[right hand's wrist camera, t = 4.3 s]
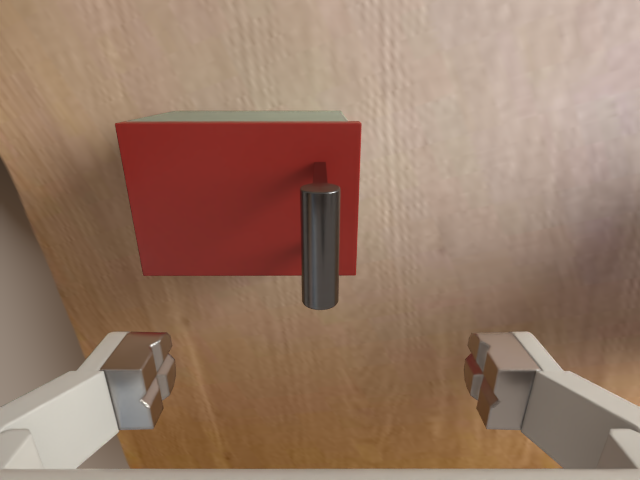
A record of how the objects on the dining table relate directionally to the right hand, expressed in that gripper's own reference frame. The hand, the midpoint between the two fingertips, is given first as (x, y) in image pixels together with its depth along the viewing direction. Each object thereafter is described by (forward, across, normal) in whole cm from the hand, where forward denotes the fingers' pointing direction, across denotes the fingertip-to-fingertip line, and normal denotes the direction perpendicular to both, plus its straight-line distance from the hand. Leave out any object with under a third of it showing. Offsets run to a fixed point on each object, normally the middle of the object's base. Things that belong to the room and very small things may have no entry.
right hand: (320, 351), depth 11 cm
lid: (+15, +5, 0) cm, 16 cm away
